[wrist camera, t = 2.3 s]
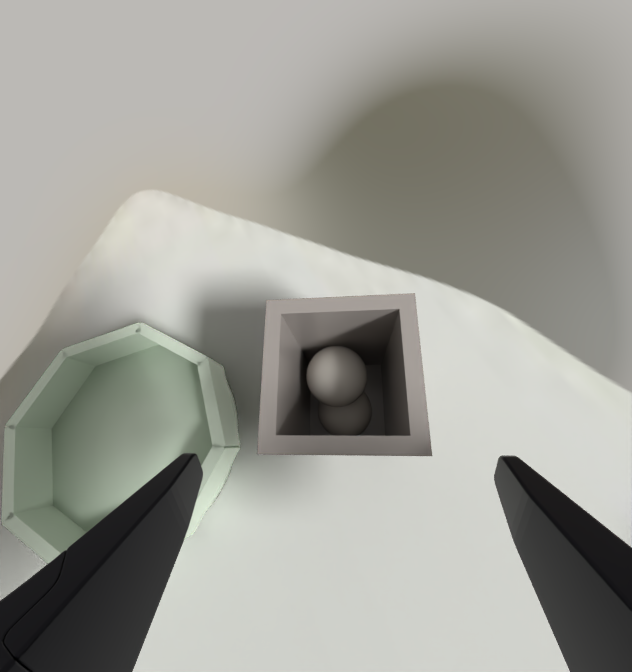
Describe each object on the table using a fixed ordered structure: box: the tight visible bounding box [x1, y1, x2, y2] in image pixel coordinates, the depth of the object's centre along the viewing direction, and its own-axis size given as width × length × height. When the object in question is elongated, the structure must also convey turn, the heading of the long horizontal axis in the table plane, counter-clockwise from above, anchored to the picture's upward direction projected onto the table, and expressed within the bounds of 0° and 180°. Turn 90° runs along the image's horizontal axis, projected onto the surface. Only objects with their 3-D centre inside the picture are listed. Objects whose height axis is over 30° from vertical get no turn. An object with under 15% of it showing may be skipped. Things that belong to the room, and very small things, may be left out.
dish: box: [1, 322, 241, 564], centre depth 19 cm, size 13×13×3 cm
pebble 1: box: [306, 346, 367, 407], centre depth 16 cm, size 3×3×3 cm
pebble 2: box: [318, 392, 372, 436], centre depth 18 cm, size 3×3×3 cm
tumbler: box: [257, 293, 432, 456], centre depth 15 cm, size 6×6×10 cm
